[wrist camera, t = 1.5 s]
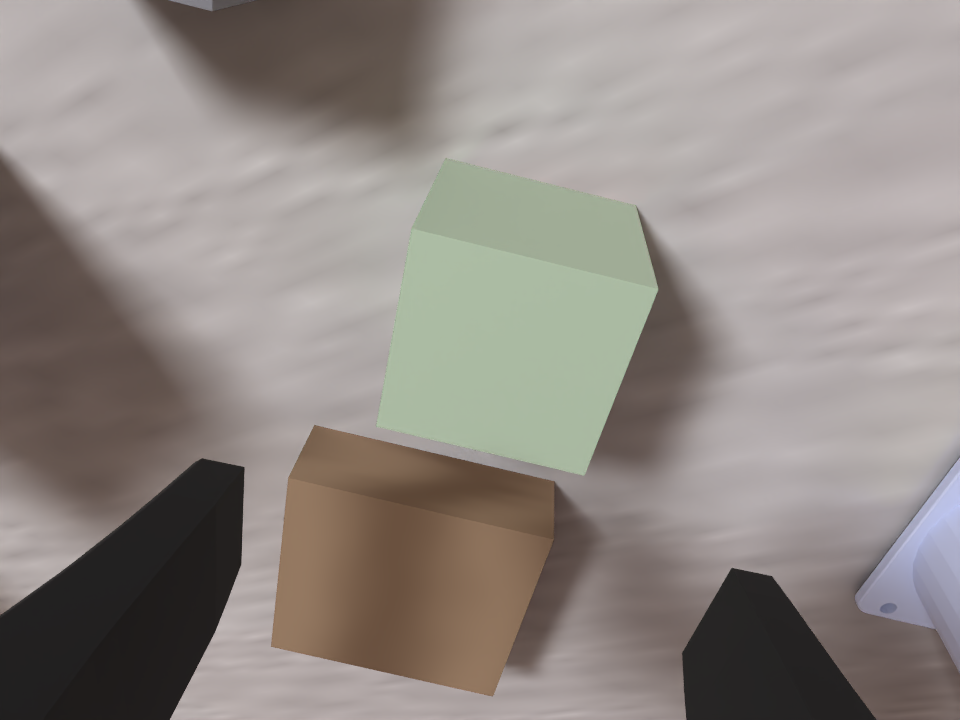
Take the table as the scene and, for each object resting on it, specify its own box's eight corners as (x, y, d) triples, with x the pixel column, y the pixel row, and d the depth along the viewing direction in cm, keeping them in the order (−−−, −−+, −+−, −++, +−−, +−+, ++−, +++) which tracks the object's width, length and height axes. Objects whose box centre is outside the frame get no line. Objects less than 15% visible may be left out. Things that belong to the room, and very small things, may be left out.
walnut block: (554, 473, 24) (554, 539, 21) (498, 625, 28) (492, 696, 25) (317, 417, 23) (288, 477, 21) (297, 579, 28) (271, 646, 25)
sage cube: (635, 204, 18) (658, 289, 14) (579, 363, 21) (584, 475, 17) (446, 157, 18) (411, 228, 14) (413, 323, 21) (376, 426, 17)
